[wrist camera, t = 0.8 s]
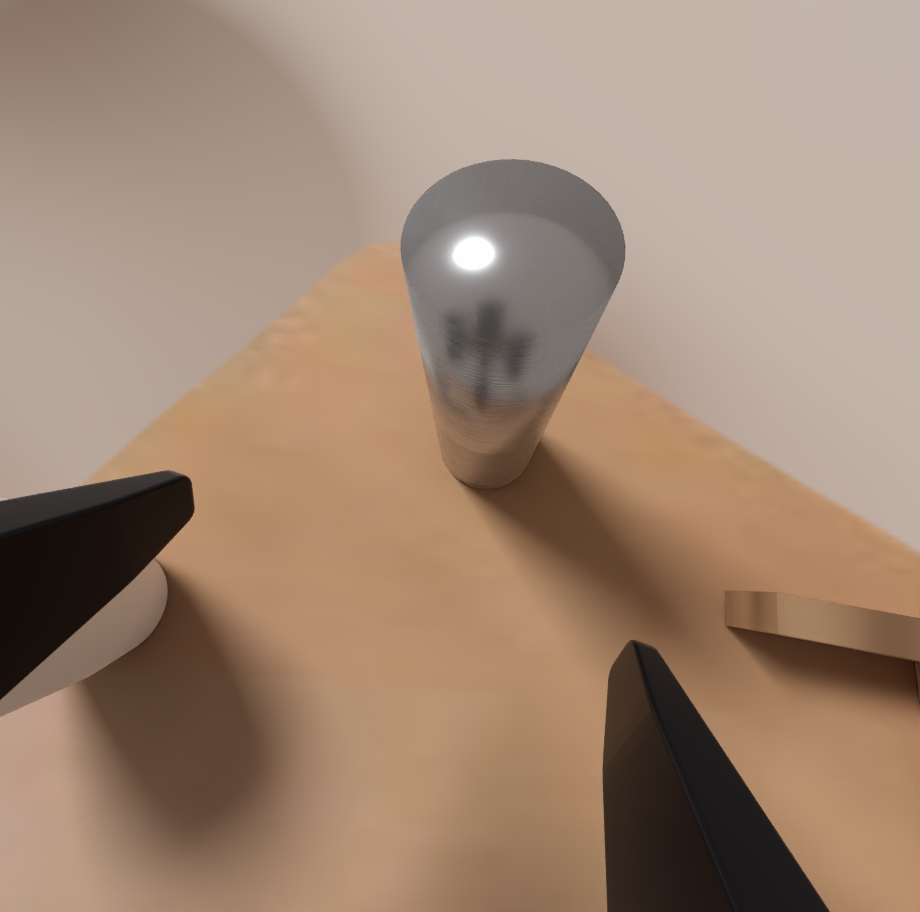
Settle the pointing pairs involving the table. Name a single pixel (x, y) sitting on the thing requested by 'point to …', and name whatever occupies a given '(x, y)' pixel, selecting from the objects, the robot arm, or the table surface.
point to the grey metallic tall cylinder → (505, 304)
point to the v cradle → (826, 623)
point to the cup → (97, 639)
